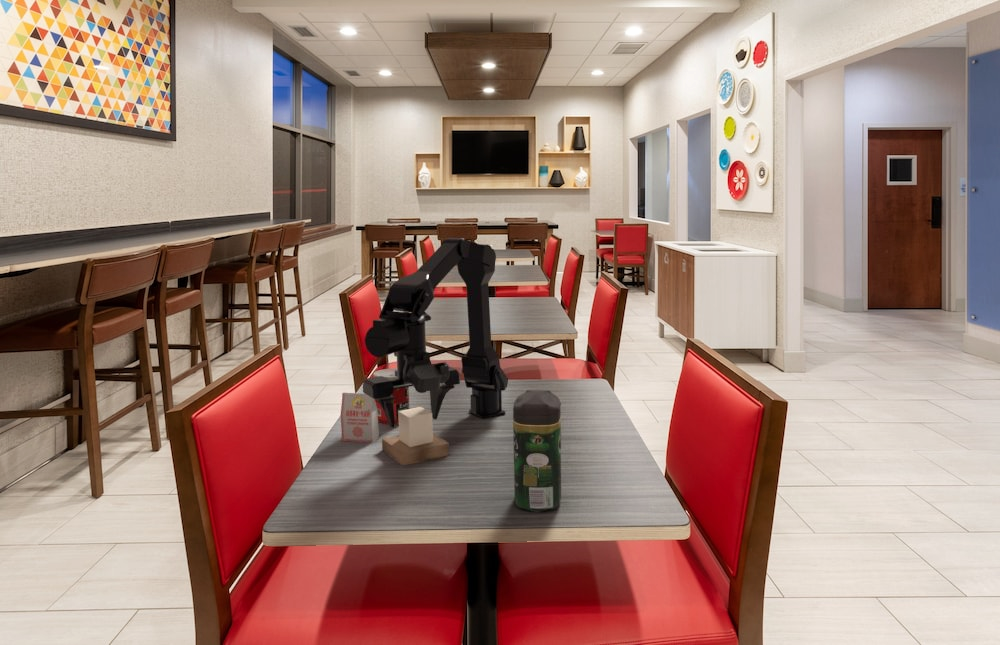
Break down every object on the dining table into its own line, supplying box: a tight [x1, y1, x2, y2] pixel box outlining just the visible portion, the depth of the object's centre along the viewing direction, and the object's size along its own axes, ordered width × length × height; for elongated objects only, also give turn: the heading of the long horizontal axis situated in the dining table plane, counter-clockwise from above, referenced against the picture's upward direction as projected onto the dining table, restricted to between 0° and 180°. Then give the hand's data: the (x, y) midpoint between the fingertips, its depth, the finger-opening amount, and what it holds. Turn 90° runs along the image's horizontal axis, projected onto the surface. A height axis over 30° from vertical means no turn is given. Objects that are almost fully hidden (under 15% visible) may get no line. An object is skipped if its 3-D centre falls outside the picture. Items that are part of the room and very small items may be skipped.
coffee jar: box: [512, 389, 562, 512], centre depth 117 cm, size 10×8×19 cm
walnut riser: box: [381, 432, 450, 467], centre depth 141 cm, size 10×10×3 cm
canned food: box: [372, 368, 410, 425], centre depth 161 cm, size 8×8×11 cm
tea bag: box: [340, 392, 380, 443], centre depth 149 cm, size 4×7×10 cm, turn 81°
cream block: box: [398, 406, 434, 447], centre depth 140 cm, size 5×5×6 cm
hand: (414, 423), depth 140 cm, fingers open, 9 cm apart
